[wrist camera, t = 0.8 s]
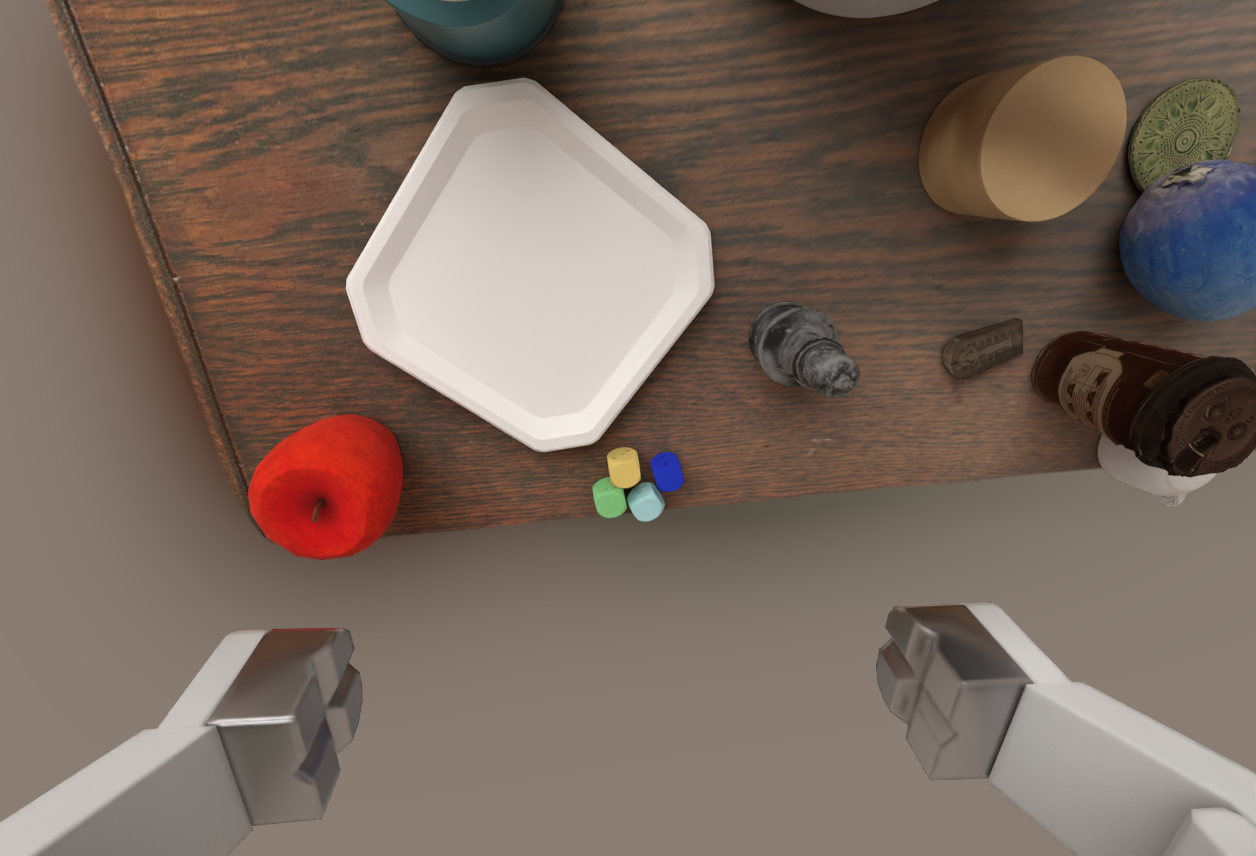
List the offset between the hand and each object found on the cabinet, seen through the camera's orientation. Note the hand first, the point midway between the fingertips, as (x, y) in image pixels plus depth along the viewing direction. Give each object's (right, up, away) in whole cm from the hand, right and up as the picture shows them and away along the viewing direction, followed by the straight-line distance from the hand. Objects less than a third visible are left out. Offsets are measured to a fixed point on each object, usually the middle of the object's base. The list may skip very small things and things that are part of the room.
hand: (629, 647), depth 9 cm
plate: (-7, +14, +34) cm, 37 cm away
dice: (+2, -3, +41) cm, 41 cm away
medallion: (+40, +24, +34) cm, 58 cm away
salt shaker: (+12, +11, +37) cm, 41 cm away
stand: (+25, +23, +33) cm, 47 cm away
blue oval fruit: (+35, +23, +29) cm, 51 cm away
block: (+28, +9, +37) cm, 48 cm away
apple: (-21, +2, +38) cm, 43 cm away
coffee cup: (+36, +8, +41) cm, 55 cm away
